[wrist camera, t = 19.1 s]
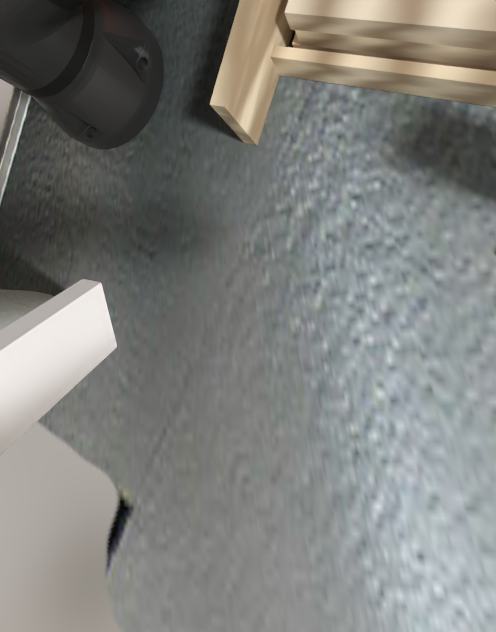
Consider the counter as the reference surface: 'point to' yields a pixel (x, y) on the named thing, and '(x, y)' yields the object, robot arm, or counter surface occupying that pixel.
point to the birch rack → (319, 71)
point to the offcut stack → (399, 29)
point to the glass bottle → (19, 304)
